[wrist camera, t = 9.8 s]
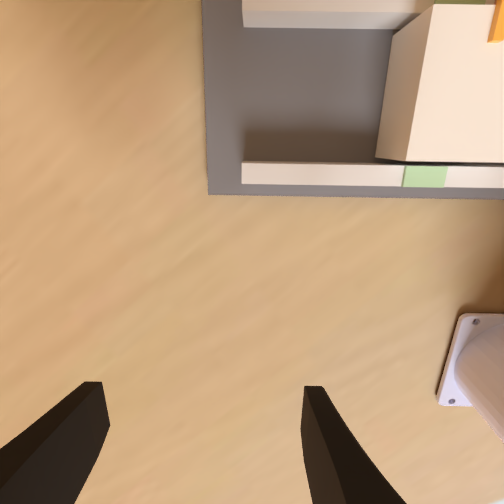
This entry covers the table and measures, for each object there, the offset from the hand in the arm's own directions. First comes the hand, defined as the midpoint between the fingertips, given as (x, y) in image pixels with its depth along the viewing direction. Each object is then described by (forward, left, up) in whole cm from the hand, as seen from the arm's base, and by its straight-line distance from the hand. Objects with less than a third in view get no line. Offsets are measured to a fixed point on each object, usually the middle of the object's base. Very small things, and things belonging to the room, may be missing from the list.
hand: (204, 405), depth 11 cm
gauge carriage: (-12, -12, -9) cm, 19 cm away
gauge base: (-10, -11, -10) cm, 18 cm away
